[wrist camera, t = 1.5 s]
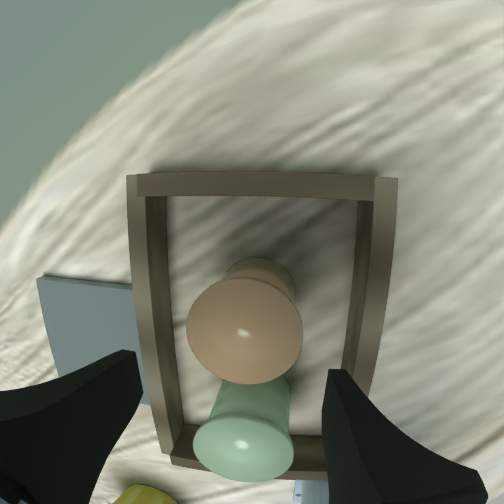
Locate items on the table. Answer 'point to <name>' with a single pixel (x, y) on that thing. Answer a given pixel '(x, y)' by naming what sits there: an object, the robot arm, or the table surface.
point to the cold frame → (158, 294)
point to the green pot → (247, 432)
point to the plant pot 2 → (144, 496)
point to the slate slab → (89, 322)
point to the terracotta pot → (247, 323)
